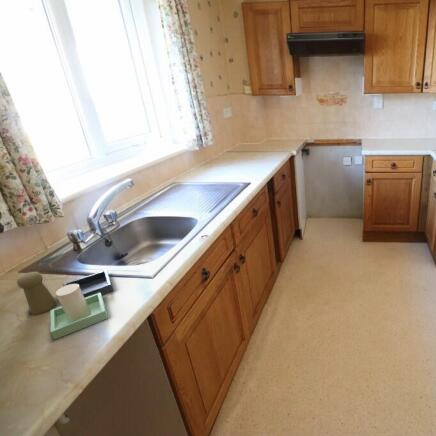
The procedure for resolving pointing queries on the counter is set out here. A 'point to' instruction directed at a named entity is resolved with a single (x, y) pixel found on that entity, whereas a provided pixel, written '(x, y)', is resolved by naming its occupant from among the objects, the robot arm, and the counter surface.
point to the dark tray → (94, 284)
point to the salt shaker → (73, 302)
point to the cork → (36, 293)
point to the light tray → (64, 327)
